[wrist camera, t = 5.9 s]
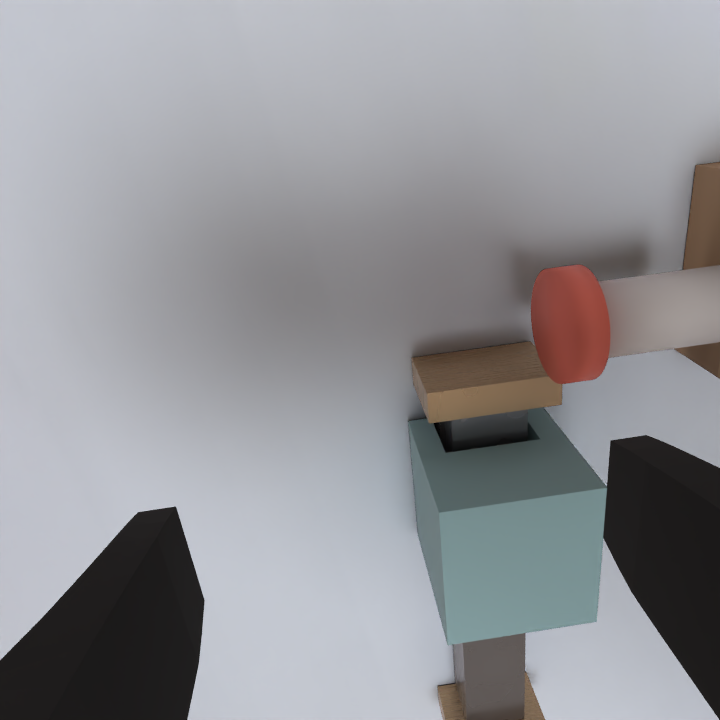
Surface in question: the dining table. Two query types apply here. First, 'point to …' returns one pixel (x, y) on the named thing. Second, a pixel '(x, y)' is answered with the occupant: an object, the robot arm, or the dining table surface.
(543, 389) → the rail
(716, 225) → the cabinet
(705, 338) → the plunger
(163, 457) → the dining table surface
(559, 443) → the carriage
